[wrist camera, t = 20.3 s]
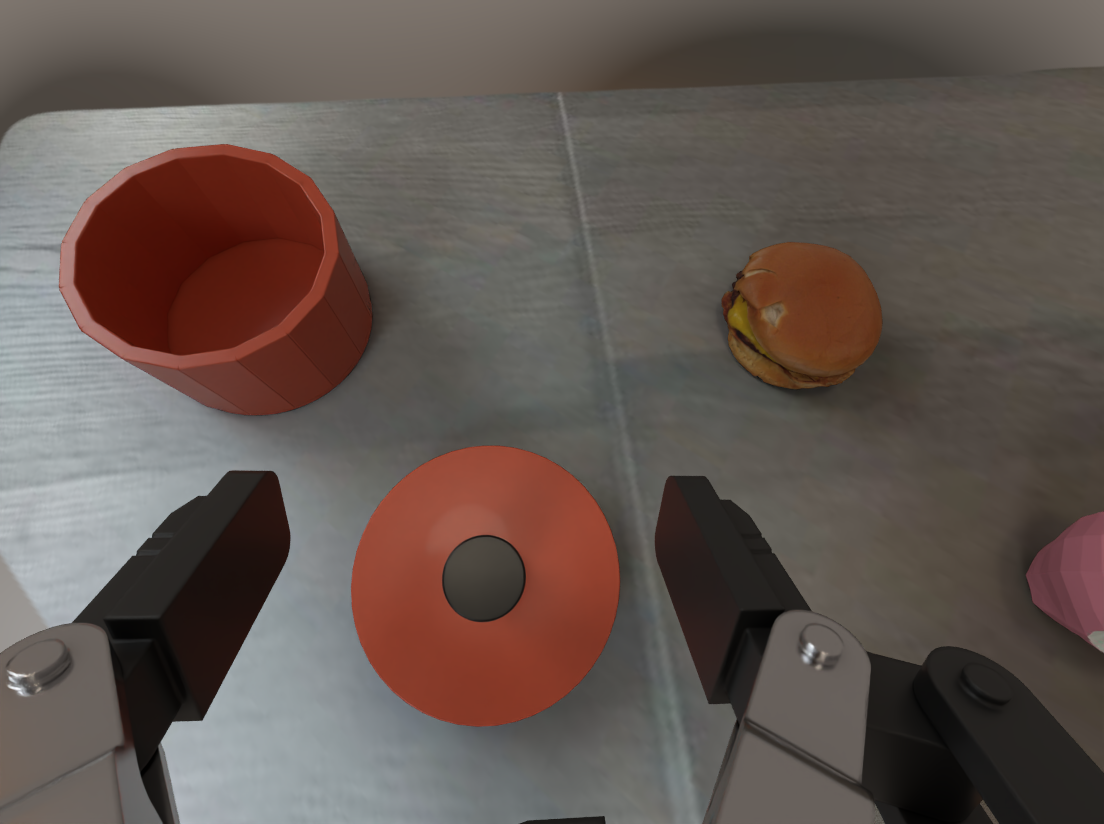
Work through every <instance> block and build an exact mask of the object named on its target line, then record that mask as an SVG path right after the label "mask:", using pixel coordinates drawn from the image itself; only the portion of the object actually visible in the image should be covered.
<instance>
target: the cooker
mask: <svg viewBox="0 0 1104 824" xmlns="http://www.w3.org/2000/svg"><path fill="white" fill-rule="evenodd" d="M59 288H60V291H61V293H62V295H63V297H64V299H65V301H66V303H67V305H68V307H69V309H70V311H71V313H72V315H73V317H74V319H75V321H76V323H77V324H78V326H79V328H80V329H81V331H82V332H83V333H85V334H86V335H88V336H89V337H91V338H92V339H94V340H95V341H97V342H98V343H100V344H101V345H102V346H104V347H105V348H107V349H108V350H110V351H111V352H113V353H114V354H116V355H117V356H118V357H120V358H121V359H123V360H125V361H127V362H128V363H130V364H132V365H134V366H136V367H137V368H139V369H141V370H143V371H144V372H146V373H148V374H150V375H152V376H153V377H155V378H157V379H159V380H160V381H162V382H164V383H166V384H168V385H169V386H171V387H173V388H175V389H176V390H178V391H180V392H182V393H184V394H185V395H187V396H189V397H191V398H192V399H194V400H196V401H198V402H200V403H201V404H203V405H205V406H207V407H211V408H216V409H218V410H222V411H226V412H229V413H234V414H242V415H269V414H277V413H281V412H286V411H290V410H293V409H296V408H299V407H302V406H305V405H307V404H309V403H311V402H313V401H315V400H317V399H319V398H320V397H322V396H323V395H325V394H327V393H328V392H330V391H331V390H332V389H333V388H335V387H336V386H337V385H338V384H340V383H341V382H342V381H343V380H344V379H345V378H346V377H347V375H348V374H349V373H350V372H351V371H352V369H353V368H354V367H355V365H356V364H357V363H358V361H359V359H360V358H361V356H362V354H363V352H364V350H365V348H366V345H367V343H368V340H369V336H370V332H371V326H372V305H371V300H370V295H369V292H368V285H367V283H366V280H365V278H364V276H363V274H362V272H361V270H360V267H359V265H358V263H357V261H356V259H355V256H354V254H353V252H352V250H351V248H350V246H349V243H348V241H347V239H346V237H345V235H344V232H343V230H342V228H341V226H340V224H339V222H338V219H337V217H336V215H335V213H334V211H333V210H332V208H331V207H330V205H329V204H328V202H327V201H326V199H325V198H324V196H323V195H322V193H321V192H320V190H319V189H318V187H317V186H316V184H315V183H314V181H313V180H312V179H311V178H310V177H309V176H307V175H305V174H304V173H302V172H301V171H299V170H297V169H296V168H294V167H293V166H291V165H289V164H288V163H286V162H285V161H283V160H281V159H280V158H278V157H277V156H275V155H273V154H270V153H265V152H261V151H256V150H251V149H247V148H242V147H238V146H233V145H228V144H226V145H225V144H220V145H209V146H198V147H186V148H176V149H171V150H168V151H166V152H163V153H161V154H158V155H156V156H153V157H151V158H148V159H146V160H143V161H141V162H138V163H135V164H133V165H130V166H128V167H126V168H124V169H123V170H121V171H120V172H119V173H118V174H117V175H115V176H114V177H113V178H112V179H110V180H109V181H108V182H107V183H106V184H104V185H103V186H102V187H101V188H99V189H98V190H97V191H96V192H95V193H93V194H92V195H91V196H90V197H88V198H87V199H86V201H85V202H84V203H83V205H82V207H81V209H80V210H79V212H78V214H77V216H76V217H75V219H74V221H73V223H72V225H71V226H70V228H69V230H68V232H67V233H66V235H65V237H64V239H63V240H62V243H61V255H60V274H59Z"/></svg>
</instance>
